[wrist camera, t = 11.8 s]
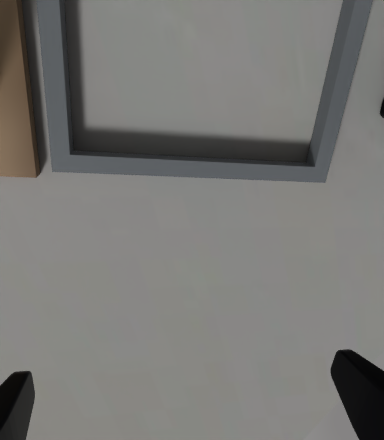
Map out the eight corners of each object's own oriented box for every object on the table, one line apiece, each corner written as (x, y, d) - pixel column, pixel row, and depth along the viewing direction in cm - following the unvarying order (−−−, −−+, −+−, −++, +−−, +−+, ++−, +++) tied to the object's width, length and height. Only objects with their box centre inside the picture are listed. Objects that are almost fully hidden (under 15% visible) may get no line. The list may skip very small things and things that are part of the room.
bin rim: (374, -59, 17) (390, -68, 16) (315, 177, 22) (325, 182, 21) (32, -126, 14) (23, -144, 13) (57, 166, 19) (52, 171, 18)
